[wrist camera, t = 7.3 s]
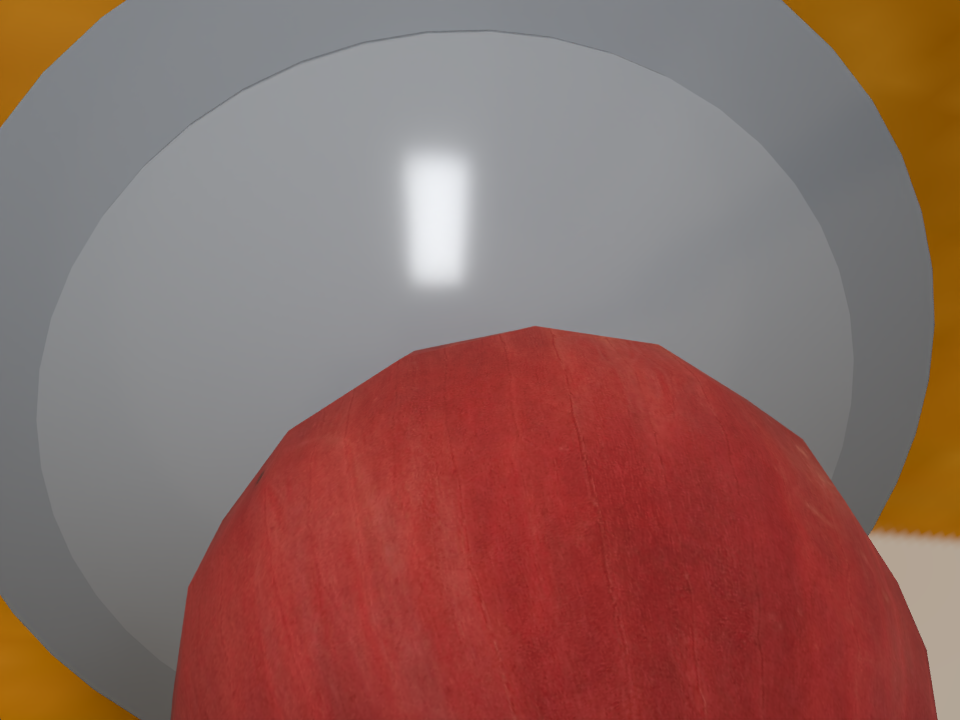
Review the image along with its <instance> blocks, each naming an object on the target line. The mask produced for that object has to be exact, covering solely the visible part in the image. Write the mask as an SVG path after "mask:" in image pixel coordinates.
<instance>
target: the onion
mask: <svg viewBox="0 0 960 720" xmlns="http://www.w3.org/2000/svg"><path fill="white" fill-rule="evenodd" d="M171 720H938V719H937V713H936V707H935V700H934V694H933V688H932V681H931V675H930V669H929V662H928V657H927V650H926V648H925V646H924V643H923V641H922V638H921V636H920V634H919V631H918V629H917V627H916V625H915V622H914V620H913V617H912V615H911V613H910V610H909V608H908V606H907V604H906V601H905V599H904V596H903V594H902V592H901V589H900V587H899V585H898V582H897V581H896V579H895V578H894V576H893V575H892V573H891V572H890V570H889V568H888V567H887V565H886V564H885V562H884V561H883V559H882V558H881V556H880V555H879V553H878V551H877V550H876V548H875V547H874V545H873V543H872V542H871V540H870V539H869V537H868V536H867V534H866V533H865V531H864V530H863V528H862V526H861V525H860V523H859V522H858V520H857V519H856V517H855V516H854V514H853V512H852V511H851V509H850V508H849V506H848V505H847V503H846V502H845V500H844V499H843V497H842V496H841V494H840V493H839V491H838V490H837V488H836V487H835V485H834V484H833V483H832V481H831V480H830V478H829V477H828V475H827V474H826V472H825V471H824V469H823V468H822V466H821V465H820V463H819V462H818V461H817V459H816V458H815V456H814V455H813V453H812V452H811V450H810V449H809V447H808V446H807V444H806V443H805V441H804V440H803V439H802V438H800V437H799V436H798V435H796V434H795V433H793V432H792V431H791V430H789V429H788V428H786V427H785V426H784V425H782V424H781V423H779V422H778V421H777V420H775V419H774V418H772V417H771V416H769V415H768V414H767V413H765V412H764V411H762V410H761V409H760V408H758V407H757V406H755V405H754V404H753V403H751V402H750V401H748V400H747V399H745V398H744V397H742V396H741V395H739V394H737V393H736V392H734V391H733V390H731V389H729V388H728V387H726V386H725V385H723V384H721V383H720V382H718V381H717V380H715V379H713V378H712V377H710V376H709V375H707V374H705V373H704V372H702V371H700V370H699V369H697V368H696V367H694V366H692V365H691V364H689V363H688V362H686V361H684V360H683V359H681V358H680V357H678V356H676V355H675V354H673V353H672V352H670V351H668V350H667V349H665V348H664V347H662V346H660V345H659V344H652V343H646V342H639V341H632V340H626V339H619V338H612V337H606V336H599V335H592V334H586V333H579V332H572V331H566V330H559V329H552V328H546V327H539V326H532V327H528V328H523V329H519V330H514V331H509V332H504V333H499V334H494V335H490V336H485V337H480V338H475V339H470V340H465V341H460V342H455V343H450V344H445V345H440V346H435V347H430V348H425V349H420V350H415V351H413V352H411V353H410V354H408V355H406V356H404V357H403V358H401V359H399V360H398V361H396V362H395V363H393V364H391V365H390V366H388V367H387V368H385V369H384V370H382V371H381V372H379V373H377V374H376V375H374V376H373V377H371V378H370V379H368V380H367V381H365V382H363V383H362V384H360V385H359V386H357V387H356V388H354V389H353V390H351V391H349V392H348V393H346V394H345V395H343V396H342V397H340V398H338V399H337V400H335V401H334V402H332V403H331V404H329V405H328V406H326V407H324V408H323V409H321V410H320V411H318V412H317V413H315V414H314V415H312V416H310V417H309V418H307V419H306V420H304V421H303V422H301V423H300V424H298V425H296V426H295V427H293V428H292V429H290V430H289V431H288V432H287V433H286V434H285V436H284V437H283V439H282V440H281V441H280V443H279V444H278V445H277V447H276V448H275V449H274V451H273V452H272V454H271V455H270V456H269V458H268V459H267V460H266V462H265V463H264V464H263V466H262V467H261V468H260V470H259V471H258V473H257V474H256V475H255V477H254V478H253V479H252V481H251V482H250V483H249V485H248V486H247V488H246V489H245V490H244V492H243V493H242V494H241V496H240V497H239V498H238V500H237V501H236V503H235V504H234V505H233V507H232V508H231V509H230V511H229V512H228V513H227V515H226V516H225V518H224V519H223V520H222V522H221V524H220V526H219V528H218V530H217V532H216V534H215V536H214V538H213V540H212V542H211V543H210V545H209V547H208V549H207V551H206V553H205V555H204V557H203V559H202V561H201V563H200V565H199V567H198V569H197V571H196V573H195V575H194V577H193V579H192V580H191V582H190V584H189V586H188V591H187V598H186V605H185V612H184V619H183V626H182V633H181V640H180V647H179V655H178V662H177V669H176V676H175V683H174V690H173V699H172V710H171Z"/></svg>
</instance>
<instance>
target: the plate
mask: <svg viewBox="0 0 960 720" xmlns="http://www.w3.org/2000/svg"><path fill="white" fill-rule="evenodd" d="M532 326H539V327H546V328H552V329H559V330H566V331H572V332H579V333H586V334H592V335H599V336H606V337H612V338H619V339H626V340H632V341H639V342H646V343H652V344H659V345H660V346H662V347H664V348H665V349H667V350H668V351H670V352H672V353H673V354H675V355H676V356H678V357H680V358H681V359H683V360H684V361H686V362H688V363H689V364H691V365H692V366H694V367H696V368H697V369H699V370H700V371H702V372H704V373H705V374H707V375H709V376H710V377H712V378H713V379H715V380H717V381H718V382H720V383H721V384H723V385H725V386H726V387H728V388H729V389H731V390H733V391H734V392H736V393H737V394H739V395H741V396H742V397H744V398H745V399H747V400H748V401H750V402H751V403H753V404H754V405H755V406H757V407H758V408H760V409H761V410H762V411H764V412H765V413H767V414H768V415H769V416H771V417H772V418H774V419H775V420H777V421H778V422H779V423H781V424H782V425H784V426H785V427H786V428H788V429H789V430H791V431H792V432H793V433H795V434H796V435H798V436H799V437H800V438H802V439H803V440H804V441H805V443H806V444H807V446H808V447H809V449H810V450H811V452H812V453H813V455H814V456H815V458H816V459H817V461H818V462H819V463H820V465H821V466H822V468H823V469H824V471H825V472H826V474H827V475H828V477H829V478H830V480H831V481H832V483H833V484H834V485H835V487H836V488H837V490H838V491H839V493H840V494H841V496H842V497H843V499H844V500H845V502H846V503H847V505H848V506H849V508H850V509H851V511H852V512H853V514H854V516H855V517H856V519H857V520H858V522H859V523H860V525H861V526H862V528H863V530H864V531H865V533H866V534H867V536H868V535H869V533H870V532H871V530H872V529H873V527H874V525H875V523H876V521H877V520H878V518H879V516H880V514H881V512H882V510H883V508H884V506H885V504H886V502H887V500H888V499H889V497H890V495H891V493H892V491H893V489H894V487H895V485H896V483H897V481H898V478H899V476H900V473H901V471H902V468H903V465H904V463H905V460H906V457H907V455H908V452H909V450H910V447H911V444H912V442H913V439H914V436H915V434H916V430H917V426H918V422H919V418H920V414H921V410H922V406H923V402H924V397H925V393H926V389H927V385H928V381H929V372H930V363H931V353H932V344H933V334H934V301H933V274H932V265H931V259H930V254H929V249H928V243H927V238H926V233H925V227H924V222H923V217H922V212H921V209H920V206H919V203H918V200H917V197H916V194H915V192H914V189H913V186H912V183H911V180H910V177H909V175H908V172H907V169H906V166H905V163H904V160H903V157H902V155H901V153H900V151H899V149H898V147H897V146H896V144H895V142H894V140H893V138H892V136H891V134H890V133H889V131H888V129H887V127H886V125H885V123H884V121H883V120H882V118H881V116H880V114H879V112H878V110H877V108H876V107H875V105H874V103H873V101H872V100H871V98H870V97H869V96H868V94H867V93H866V92H865V90H864V89H863V88H862V86H861V85H860V84H859V83H858V81H857V80H856V79H855V77H854V76H853V75H852V73H851V72H850V71H849V69H848V68H847V67H846V66H845V64H844V63H843V62H842V60H841V59H840V58H839V56H838V55H837V54H836V53H835V51H834V50H833V49H832V48H831V47H830V46H829V45H828V44H827V43H826V42H825V41H824V40H823V39H822V38H821V37H820V36H819V35H818V34H817V33H816V32H815V31H813V30H812V29H811V28H810V27H809V26H808V25H807V24H806V23H805V22H804V21H803V20H802V19H801V18H800V17H799V16H798V15H797V14H795V13H794V12H793V11H792V10H791V9H790V8H789V7H788V6H787V5H786V4H785V3H784V2H783V1H782V0H126V1H125V2H123V3H122V4H121V5H119V6H118V7H116V8H115V9H113V10H112V11H110V12H109V13H107V14H106V15H105V16H103V17H102V18H101V19H100V20H98V21H97V22H96V23H95V24H94V25H93V26H92V27H91V28H90V29H89V30H88V31H87V32H86V33H85V34H84V35H83V36H81V37H80V38H79V39H78V40H77V41H76V42H75V43H74V44H73V45H72V46H71V47H70V48H69V49H68V50H67V51H66V52H64V53H63V54H62V55H61V56H60V57H59V58H58V59H57V60H56V61H55V62H54V63H53V64H52V65H51V66H50V67H49V68H47V69H46V70H45V71H44V72H43V73H42V75H41V76H40V77H39V79H38V80H37V81H36V82H35V84H34V85H33V86H32V88H31V89H30V90H29V91H28V93H27V94H26V95H25V97H24V98H23V99H22V101H21V102H20V103H19V104H18V106H17V107H16V108H15V110H14V111H13V112H12V113H11V115H10V116H9V117H8V119H7V120H6V121H5V123H4V124H3V125H2V126H1V128H0V595H1V596H2V598H3V599H4V601H5V602H6V604H7V605H8V606H9V608H10V609H11V611H12V612H13V613H14V614H15V616H16V617H17V618H18V619H19V620H20V621H21V622H22V623H23V624H24V625H25V626H26V627H27V628H28V630H29V631H30V632H31V633H32V634H33V635H34V636H35V637H36V638H37V639H38V640H39V641H40V642H41V643H42V645H43V646H44V647H45V648H46V649H47V650H48V651H49V652H50V653H51V654H52V655H53V656H54V657H55V658H57V659H58V660H59V661H60V662H61V663H63V664H64V665H65V666H66V667H67V668H69V669H70V670H71V671H72V672H74V673H75V674H76V675H77V676H78V677H80V678H81V679H82V680H83V681H84V682H86V683H87V684H88V685H89V686H90V687H92V688H93V689H94V690H96V691H97V692H99V693H100V694H102V695H103V696H105V697H106V698H108V699H110V700H111V701H113V702H114V703H116V704H117V705H119V706H120V707H122V708H124V709H125V710H127V711H128V712H130V713H131V714H133V715H134V716H136V717H137V718H139V719H141V720H171V710H172V699H173V690H174V683H175V676H176V669H177V662H178V655H179V647H180V640H181V633H182V626H183V619H184V612H185V605H186V598H187V591H188V586H189V584H190V582H191V580H192V579H193V577H194V575H195V573H196V571H197V569H198V567H199V565H200V563H201V561H202V559H203V557H204V555H205V553H206V551H207V549H208V547H209V545H210V543H211V542H212V540H213V538H214V536H215V534H216V532H217V530H218V528H219V526H220V524H221V522H222V520H223V519H224V518H225V516H226V515H227V513H228V512H229V511H230V509H231V508H232V507H233V505H234V504H235V503H236V501H237V500H238V498H239V497H240V496H241V494H242V493H243V492H244V490H245V489H246V488H247V486H248V485H249V483H250V482H251V481H252V479H253V478H254V477H255V475H256V474H257V473H258V471H259V470H260V468H261V467H262V466H263V464H264V463H265V462H266V460H267V459H268V458H269V456H270V455H271V454H272V452H273V451H274V449H275V448H276V447H277V445H278V444H279V443H280V441H281V440H282V439H283V437H284V436H285V434H286V433H287V432H288V431H289V430H290V429H292V428H293V427H295V426H296V425H298V424H300V423H301V422H303V421H304V420H306V419H307V418H309V417H310V416H312V415H314V414H315V413H317V412H318V411H320V410H321V409H323V408H324V407H326V406H328V405H329V404H331V403H332V402H334V401H335V400H337V399H338V398H340V397H342V396H343V395H345V394H346V393H348V392H349V391H351V390H353V389H354V388H356V387H357V386H359V385H360V384H362V383H363V382H365V381H367V380H368V379H370V378H371V377H373V376H374V375H376V374H377V373H379V372H381V371H382V370H384V369H385V368H387V367H388V366H390V365H391V364H393V363H395V362H396V361H398V360H399V359H401V358H403V357H404V356H406V355H408V354H410V353H411V352H413V351H415V350H420V349H425V348H430V347H435V346H440V345H445V344H450V343H455V342H460V341H465V340H470V339H475V338H480V337H485V336H490V335H494V334H499V333H504V332H509V331H514V330H519V329H523V328H528V327H532Z"/></svg>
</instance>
